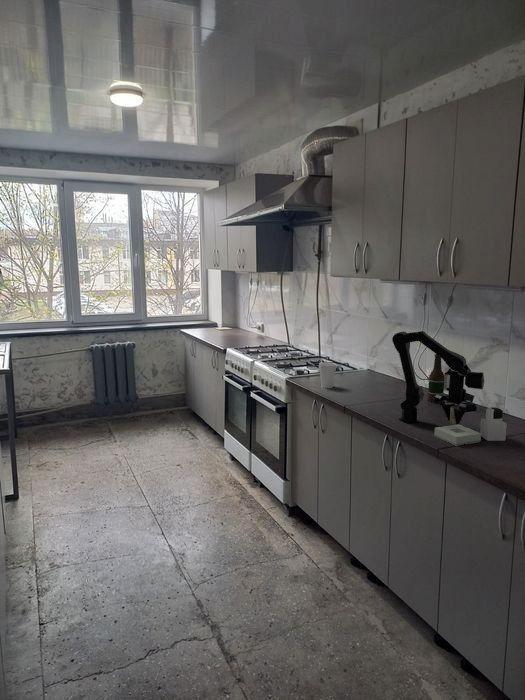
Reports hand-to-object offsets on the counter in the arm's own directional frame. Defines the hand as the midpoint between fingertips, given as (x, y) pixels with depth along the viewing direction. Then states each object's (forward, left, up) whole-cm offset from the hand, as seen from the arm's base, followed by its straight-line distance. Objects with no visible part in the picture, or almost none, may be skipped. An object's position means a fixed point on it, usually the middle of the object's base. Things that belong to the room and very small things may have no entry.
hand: (453, 422), depth 213 cm
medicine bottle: (+15, +6, -3) cm, 16 cm away
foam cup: (-83, -14, -3) cm, 84 cm away
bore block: (+11, -8, -2) cm, 14 cm away
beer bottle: (-37, +22, -3) cm, 43 cm away
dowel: (0, 0, -2) cm, 2 cm away
